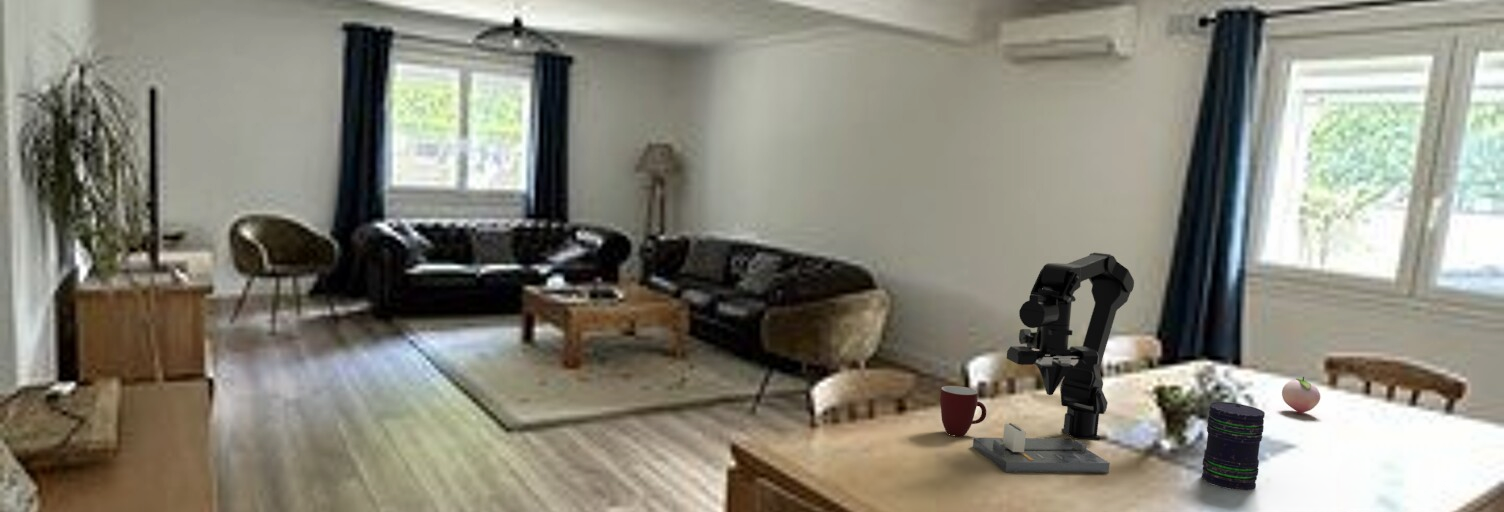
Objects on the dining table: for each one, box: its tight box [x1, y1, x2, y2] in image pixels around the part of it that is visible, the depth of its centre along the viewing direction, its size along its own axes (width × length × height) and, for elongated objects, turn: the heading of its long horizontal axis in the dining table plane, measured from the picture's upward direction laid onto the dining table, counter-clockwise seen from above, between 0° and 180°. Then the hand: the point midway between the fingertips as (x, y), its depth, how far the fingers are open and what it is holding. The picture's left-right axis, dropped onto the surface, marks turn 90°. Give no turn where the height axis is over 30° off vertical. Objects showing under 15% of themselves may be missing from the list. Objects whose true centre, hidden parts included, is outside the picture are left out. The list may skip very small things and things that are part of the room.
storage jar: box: [1201, 401, 1266, 492], centre depth 181 cm, size 10×10×15 cm
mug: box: [939, 385, 987, 437], centre depth 203 cm, size 11×8×10 cm
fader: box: [1002, 422, 1027, 452], centre depth 187 cm, size 2×5×5 cm, turn 10°
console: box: [972, 437, 1110, 474], centre depth 189 cm, size 22×16×4 cm
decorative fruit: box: [1281, 376, 1321, 414], centre depth 243 cm, size 9×8×10 cm
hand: (1049, 394), depth 196 cm, fingers closed
